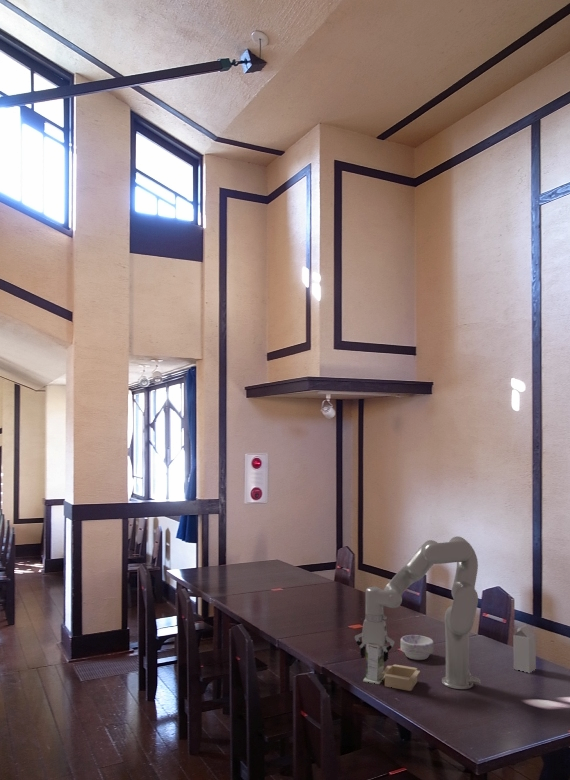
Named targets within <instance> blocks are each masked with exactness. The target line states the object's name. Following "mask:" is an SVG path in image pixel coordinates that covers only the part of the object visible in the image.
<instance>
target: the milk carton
mask: <svg viewBox="0 0 570 780" xmlns="http://www.w3.org/2000/svg"><path fill="white" fill-rule="evenodd" d="M528 626H529V625H528V624H524V625H523V626H520V627H518V628H516V631H517V632H515V633H514V634H513V638H512V639H513V644H512V645H513V670H514V669H515V671H518V670H520V671H519V672H522V671H524V672H523V673H526V672H528V673H527V674H531V673H533V672H534V671H536V670H537V664H536V663H537V660H536V659H537V657H536V655H537V654H536V634H535V633H534V632H533V631H532V630H531V629H530V627H528ZM535 669H536V670H535ZM533 670H534V671H533ZM532 671H533V672H532ZM530 672H531V673H530Z"/></svg>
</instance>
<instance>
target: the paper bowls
mask: <svg viewBox="0 0 570 780" xmlns="http://www.w3.org/2000/svg"><path fill="white" fill-rule="evenodd" d="M434 643H435V642H434V639H432V638H431V637H428V636H424V635H419V634H409V635H408V634H407V635H403V636H402V637H400V651H401V652H402V653H404V654H405V656H406V657H407V658H409V659H411V660H414V661H423V660H427V659H428V658H429V656H430V655H432V654H433V653H434Z"/></svg>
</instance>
